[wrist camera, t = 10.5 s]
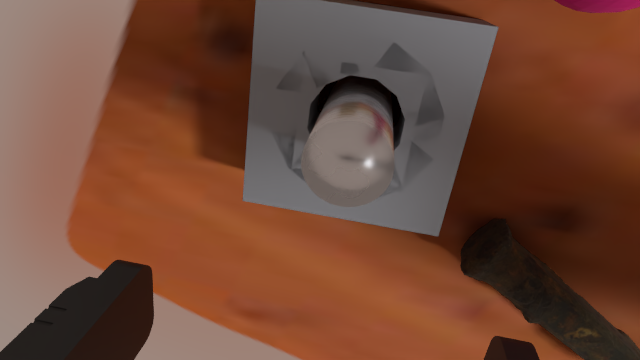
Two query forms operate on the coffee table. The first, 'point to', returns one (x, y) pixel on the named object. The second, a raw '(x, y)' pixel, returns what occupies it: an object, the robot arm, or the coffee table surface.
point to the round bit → (351, 144)
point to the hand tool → (542, 294)
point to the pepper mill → (600, 5)
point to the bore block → (370, 62)
